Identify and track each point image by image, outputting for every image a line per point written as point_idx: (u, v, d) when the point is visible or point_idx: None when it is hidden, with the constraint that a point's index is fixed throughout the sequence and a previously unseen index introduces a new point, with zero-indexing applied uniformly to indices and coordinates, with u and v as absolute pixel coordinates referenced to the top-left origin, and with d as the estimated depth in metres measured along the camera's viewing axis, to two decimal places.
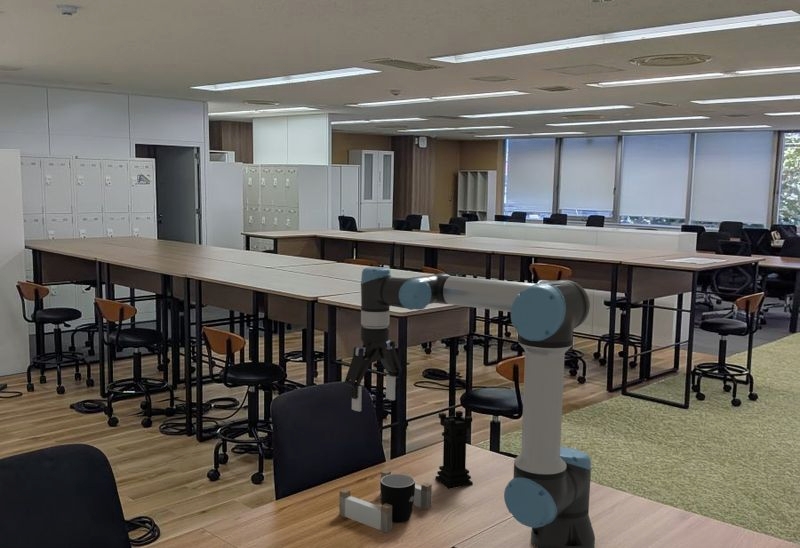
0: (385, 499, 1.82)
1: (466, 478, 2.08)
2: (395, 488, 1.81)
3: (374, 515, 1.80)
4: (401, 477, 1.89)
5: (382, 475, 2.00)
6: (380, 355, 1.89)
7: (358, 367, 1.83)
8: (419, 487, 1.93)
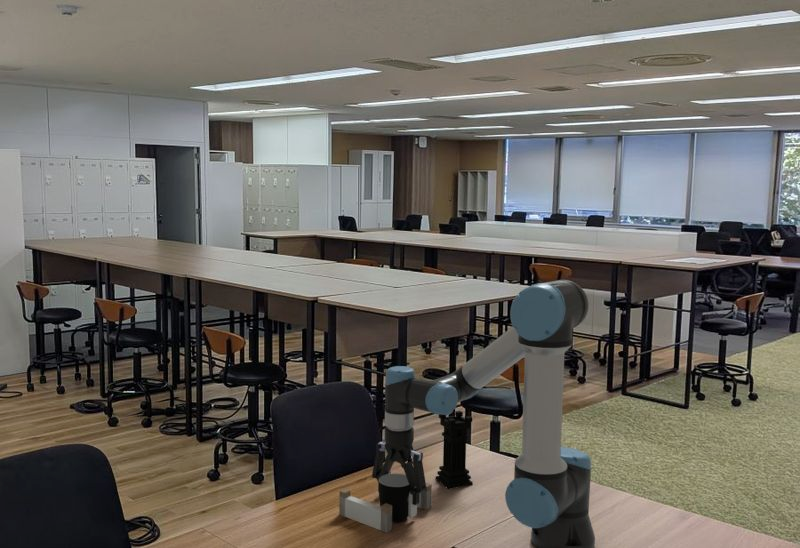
0: (383, 498, 1.83)
1: (466, 478, 2.08)
2: (393, 487, 1.81)
3: (374, 515, 1.80)
4: (399, 476, 1.89)
5: None
6: None
7: (376, 461, 1.89)
8: None
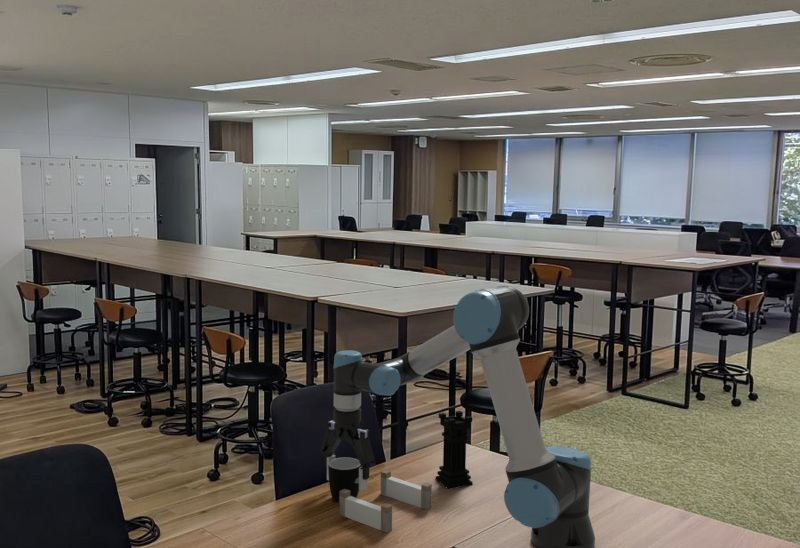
0: (332, 480, 1.94)
1: (466, 478, 2.08)
2: (341, 470, 1.92)
3: (374, 515, 1.80)
4: (349, 460, 2.00)
5: (382, 475, 2.00)
6: None
7: (325, 438, 2.00)
8: (419, 487, 1.93)
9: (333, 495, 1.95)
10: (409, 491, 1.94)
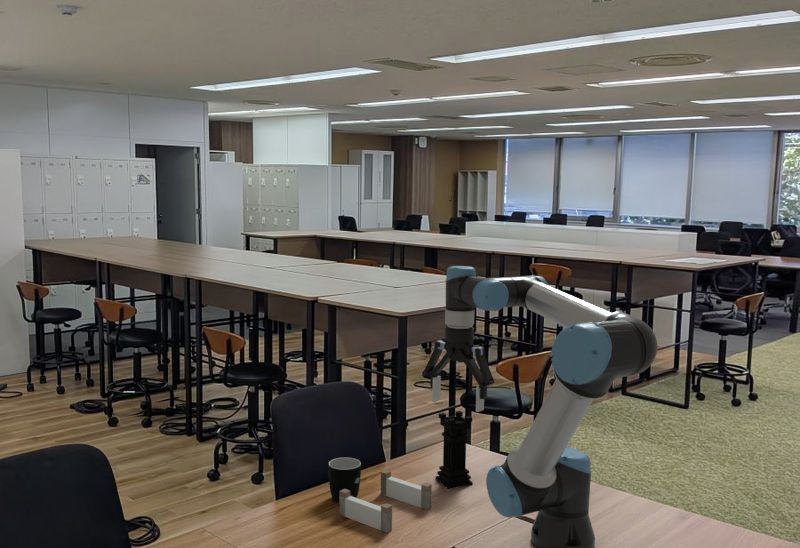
0: (332, 480, 1.94)
1: (466, 478, 2.08)
2: (341, 470, 1.92)
3: (374, 515, 1.80)
4: (349, 460, 2.00)
5: (382, 475, 2.00)
6: (460, 357, 1.85)
7: (432, 358, 1.90)
8: (419, 487, 1.93)
9: (333, 495, 1.95)
10: (409, 491, 1.94)
